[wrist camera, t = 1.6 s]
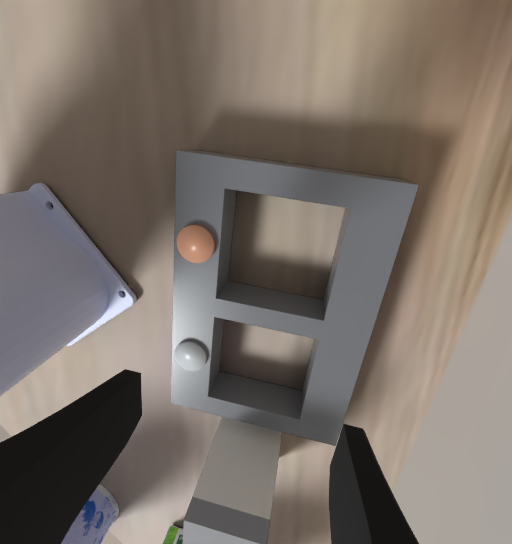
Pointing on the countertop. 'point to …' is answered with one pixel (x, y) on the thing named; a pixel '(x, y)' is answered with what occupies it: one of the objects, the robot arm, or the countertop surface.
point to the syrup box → (174, 535)
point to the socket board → (275, 304)
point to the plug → (235, 487)
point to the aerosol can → (93, 519)
